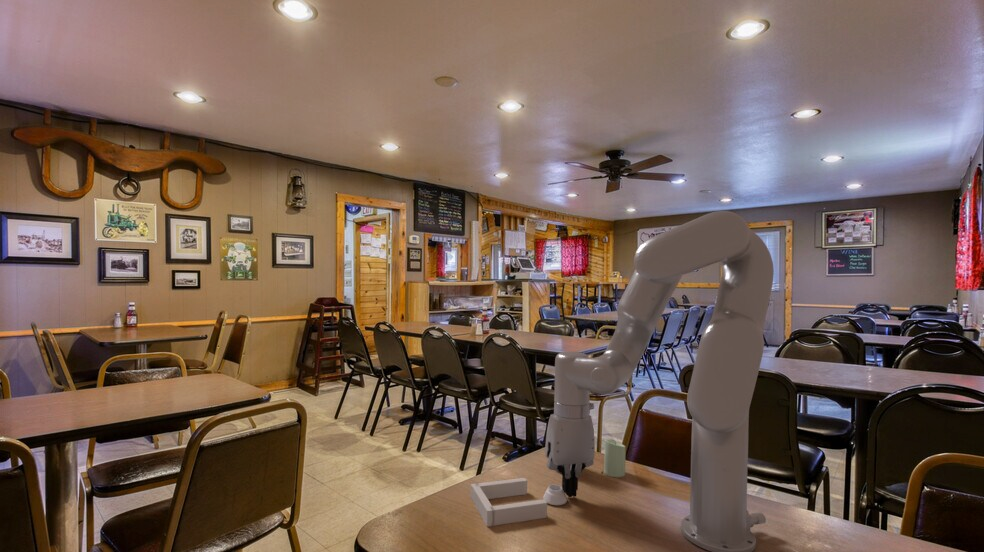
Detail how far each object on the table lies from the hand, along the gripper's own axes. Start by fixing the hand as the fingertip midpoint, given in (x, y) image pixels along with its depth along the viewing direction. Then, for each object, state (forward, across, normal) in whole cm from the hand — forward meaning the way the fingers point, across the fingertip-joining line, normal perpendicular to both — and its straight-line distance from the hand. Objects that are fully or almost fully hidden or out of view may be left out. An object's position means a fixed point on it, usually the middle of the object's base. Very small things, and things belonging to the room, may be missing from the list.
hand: (569, 493), depth 102 cm
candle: (+1, -17, -9) cm, 19 cm away
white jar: (+1, +4, 0) cm, 4 cm away
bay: (+1, +15, 0) cm, 15 cm away
